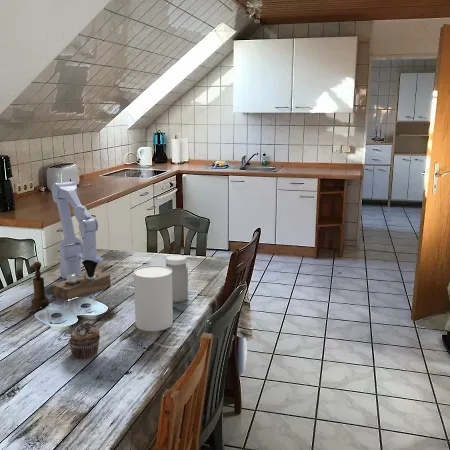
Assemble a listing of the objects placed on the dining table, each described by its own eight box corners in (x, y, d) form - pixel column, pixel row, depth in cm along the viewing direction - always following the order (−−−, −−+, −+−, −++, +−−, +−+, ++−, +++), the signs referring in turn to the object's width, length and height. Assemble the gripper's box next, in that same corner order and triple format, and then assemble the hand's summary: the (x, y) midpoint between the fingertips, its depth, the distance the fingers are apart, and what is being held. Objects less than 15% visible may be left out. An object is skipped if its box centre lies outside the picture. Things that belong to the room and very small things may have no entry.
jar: (184, 304, 199) (184, 261, 195) (161, 302, 201) (160, 260, 197) (191, 295, 209) (190, 254, 205) (168, 294, 211) (168, 253, 206)
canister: (137, 332, 174) (135, 278, 169) (133, 317, 187) (132, 266, 182) (175, 328, 177) (175, 275, 173) (169, 314, 190) (168, 264, 185)
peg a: (65, 286, 207) (64, 275, 206) (73, 283, 211) (72, 272, 210) (72, 288, 205) (71, 277, 204) (80, 285, 209) (79, 274, 208)
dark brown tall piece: (27, 306, 196) (24, 262, 191) (40, 301, 201) (37, 258, 197) (40, 309, 193) (36, 265, 188) (52, 304, 198) (49, 261, 194)
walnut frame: (52, 296, 206) (51, 284, 205) (94, 281, 225) (94, 270, 224) (68, 301, 201) (68, 289, 200) (110, 285, 220) (110, 274, 219)
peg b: (84, 286, 216) (83, 276, 215) (91, 284, 220) (91, 274, 219) (91, 289, 214) (90, 278, 213) (98, 286, 218) (98, 275, 217)
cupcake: (88, 343, 166) (86, 315, 163) (106, 352, 160) (105, 323, 157) (63, 353, 158) (61, 324, 156) (81, 363, 152) (79, 333, 150)
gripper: (70, 245, 213) (72, 275, 217) (94, 251, 206) (95, 282, 209) (83, 242, 219) (85, 271, 222) (106, 247, 211) (108, 277, 215)
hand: (90, 276), depth 216 cm, fingers closed, pressing on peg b
